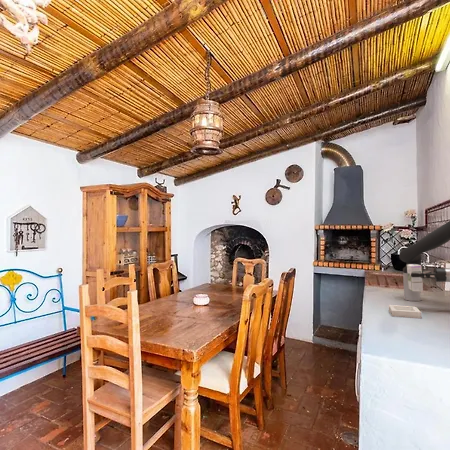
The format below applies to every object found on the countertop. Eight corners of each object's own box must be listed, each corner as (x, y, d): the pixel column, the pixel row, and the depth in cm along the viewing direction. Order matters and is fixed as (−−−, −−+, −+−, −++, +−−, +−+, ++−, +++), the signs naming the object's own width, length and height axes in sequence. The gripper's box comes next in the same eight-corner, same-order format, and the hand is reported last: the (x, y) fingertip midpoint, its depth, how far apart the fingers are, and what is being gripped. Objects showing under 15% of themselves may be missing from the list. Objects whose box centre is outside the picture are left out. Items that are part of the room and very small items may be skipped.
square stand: (388, 310, 167) (388, 305, 168) (416, 312, 163) (415, 306, 163) (392, 316, 155) (391, 310, 156) (421, 318, 151) (421, 312, 151)
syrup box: (423, 291, 165) (422, 265, 166) (411, 291, 166) (410, 265, 167) (419, 289, 171) (417, 264, 172) (407, 289, 172) (406, 264, 173)
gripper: (440, 266, 170) (407, 266, 177) (449, 269, 157) (412, 269, 163) (441, 280, 170) (407, 279, 176) (449, 283, 157) (412, 282, 163)
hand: (410, 274), depth 170 cm, fingers closed on syrup box, 6 cm apart
